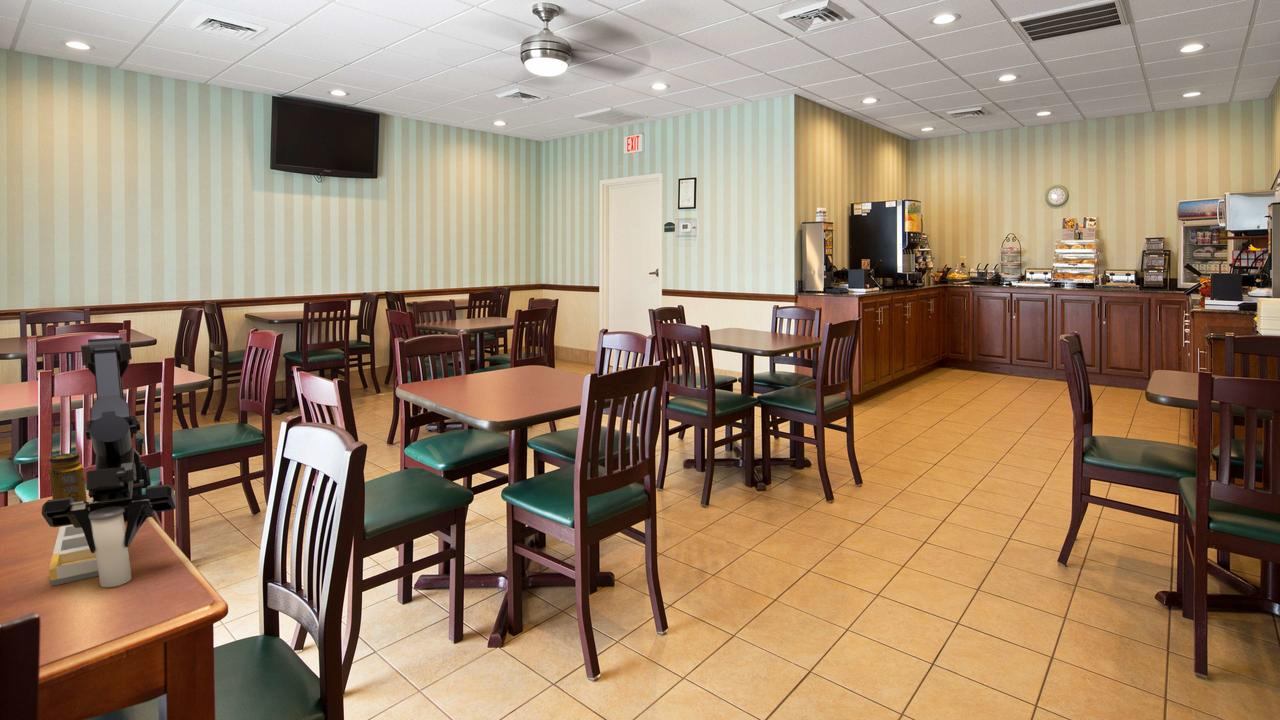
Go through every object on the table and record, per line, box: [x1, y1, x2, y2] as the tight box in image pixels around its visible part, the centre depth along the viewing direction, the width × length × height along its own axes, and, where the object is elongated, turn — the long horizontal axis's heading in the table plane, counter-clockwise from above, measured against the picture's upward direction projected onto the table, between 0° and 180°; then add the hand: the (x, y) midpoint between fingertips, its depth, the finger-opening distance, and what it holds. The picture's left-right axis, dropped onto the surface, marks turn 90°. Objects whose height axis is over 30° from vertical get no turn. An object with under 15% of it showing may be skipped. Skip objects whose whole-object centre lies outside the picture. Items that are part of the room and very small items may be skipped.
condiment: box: [48, 452, 93, 502], centre depth 161 cm, size 7×8×12 cm
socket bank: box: [48, 525, 99, 587], centre depth 135 cm, size 8×24×3 cm, turn 35°
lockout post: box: [88, 506, 133, 588], centre depth 124 cm, size 5×5×13 cm
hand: (109, 549), depth 122 cm, fingers closed on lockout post, 4 cm apart
